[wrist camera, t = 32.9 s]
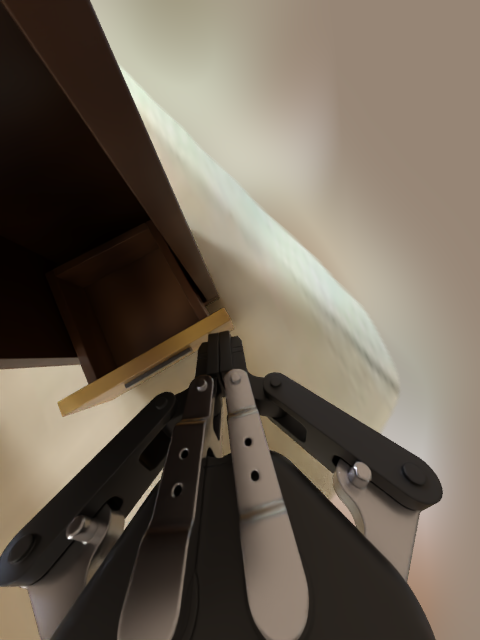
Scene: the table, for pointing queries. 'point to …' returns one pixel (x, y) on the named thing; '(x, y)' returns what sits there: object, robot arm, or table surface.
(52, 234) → the cubby
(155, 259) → the drawer
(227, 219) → the table surface
